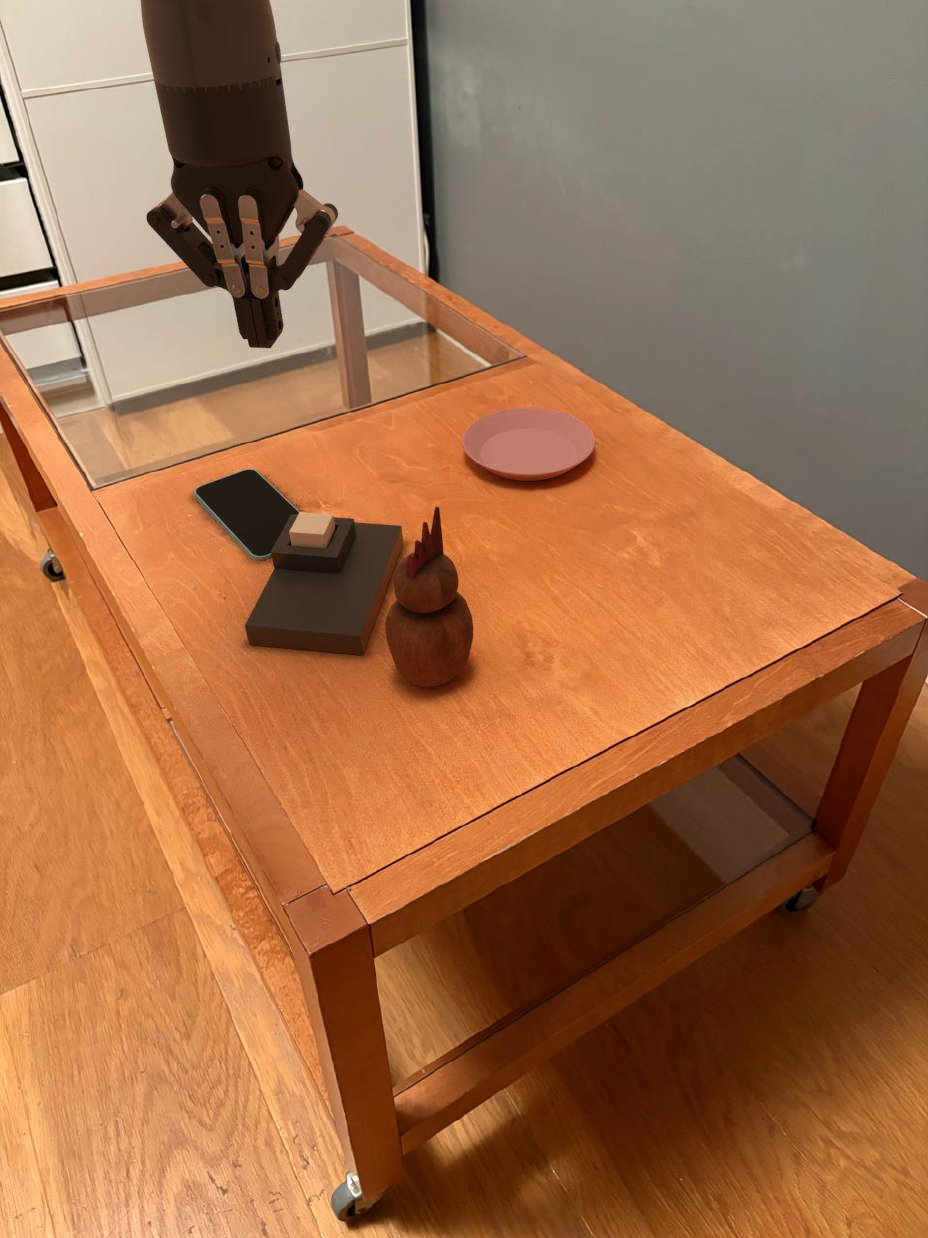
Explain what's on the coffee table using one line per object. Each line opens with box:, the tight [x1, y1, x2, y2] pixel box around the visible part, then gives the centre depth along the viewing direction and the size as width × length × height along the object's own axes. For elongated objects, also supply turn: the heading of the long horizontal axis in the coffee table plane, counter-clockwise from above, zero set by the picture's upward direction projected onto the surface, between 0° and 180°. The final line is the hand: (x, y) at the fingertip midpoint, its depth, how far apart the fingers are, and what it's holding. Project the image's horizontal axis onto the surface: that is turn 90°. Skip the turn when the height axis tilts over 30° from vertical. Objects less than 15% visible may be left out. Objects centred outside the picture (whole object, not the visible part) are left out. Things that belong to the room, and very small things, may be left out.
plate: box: [461, 406, 596, 482], centre depth 102 cm, size 14×14×2 cm
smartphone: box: [194, 468, 301, 562], centre depth 96 cm, size 7×1×15 cm
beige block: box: [289, 511, 335, 548], centre depth 85 cm, size 3×3×2 cm
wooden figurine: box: [384, 506, 474, 688], centre depth 73 cm, size 7×6×15 cm
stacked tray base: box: [244, 514, 404, 656], centre depth 85 cm, size 10×16×4 cm, turn 170°
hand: (264, 343), depth 68 cm, fingers closed
